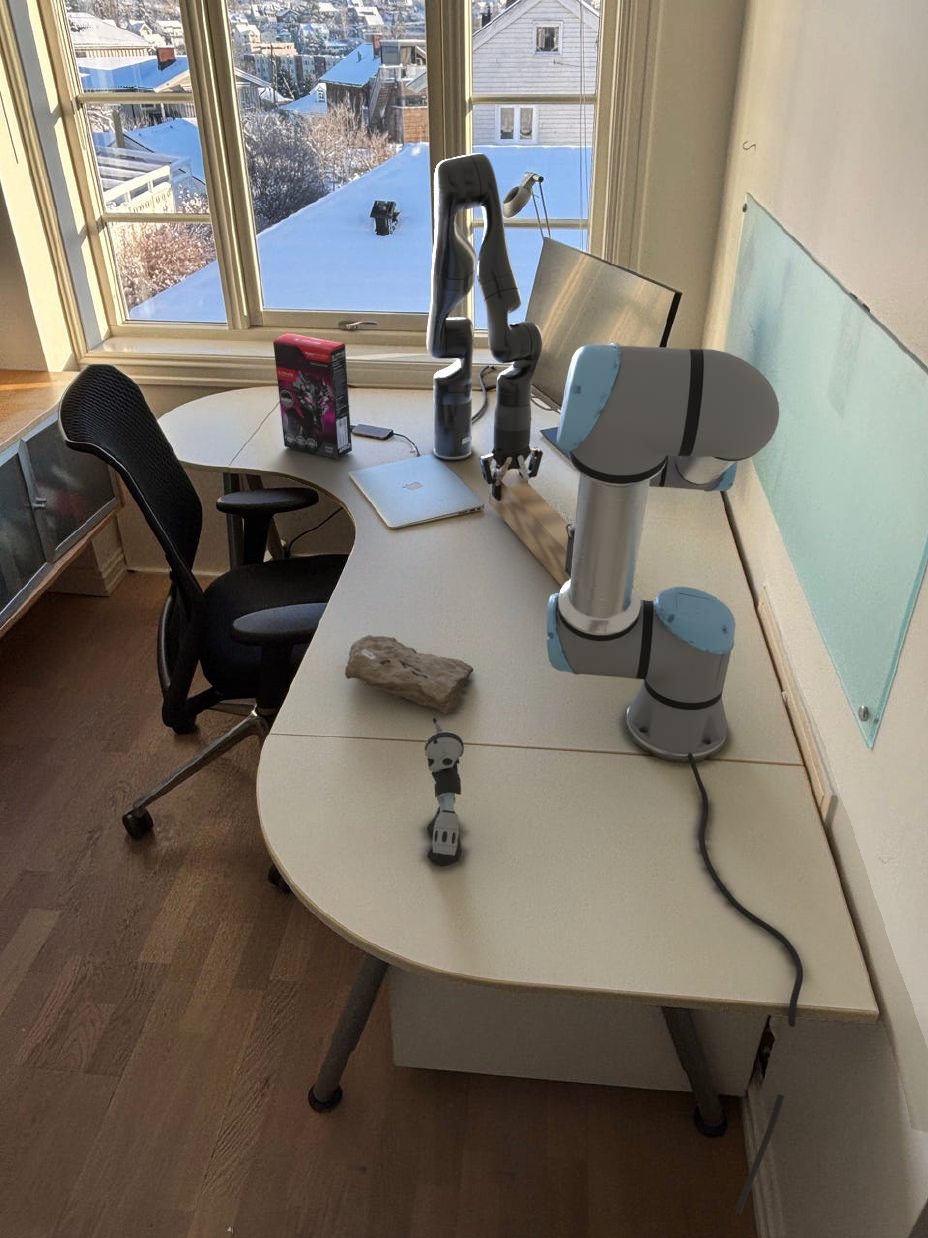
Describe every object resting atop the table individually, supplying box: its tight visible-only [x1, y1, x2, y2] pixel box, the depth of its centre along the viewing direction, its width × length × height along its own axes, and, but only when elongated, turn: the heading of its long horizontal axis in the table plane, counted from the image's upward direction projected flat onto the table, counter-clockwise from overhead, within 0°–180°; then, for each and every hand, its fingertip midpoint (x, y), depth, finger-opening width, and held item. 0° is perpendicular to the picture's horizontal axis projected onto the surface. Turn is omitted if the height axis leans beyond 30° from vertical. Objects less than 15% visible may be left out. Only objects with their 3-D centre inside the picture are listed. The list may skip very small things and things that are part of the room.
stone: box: [344, 634, 474, 714], centre depth 150 cm, size 21×15×6 cm
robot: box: [423, 717, 465, 867], centre depth 118 cm, size 20×5×20 cm, turn 3°
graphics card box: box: [272, 332, 353, 460], centre depth 223 cm, size 17×7×27 cm, turn 62°
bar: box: [488, 468, 571, 588], centre depth 182 cm, size 51×5×8 cm, turn 21°
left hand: (509, 496), depth 198 cm, fingers closed on bar, 5 cm apart
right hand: (595, 603), depth 168 cm, fingers closed on bar, 5 cm apart
